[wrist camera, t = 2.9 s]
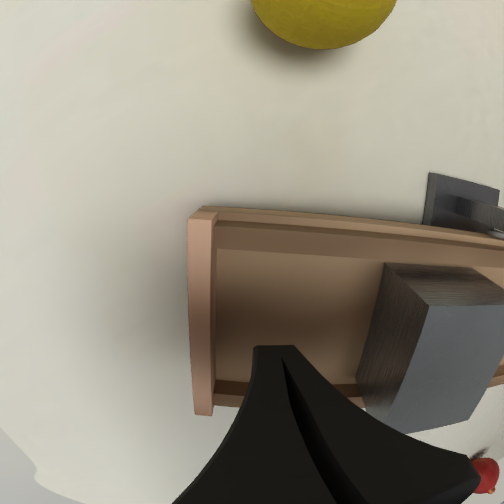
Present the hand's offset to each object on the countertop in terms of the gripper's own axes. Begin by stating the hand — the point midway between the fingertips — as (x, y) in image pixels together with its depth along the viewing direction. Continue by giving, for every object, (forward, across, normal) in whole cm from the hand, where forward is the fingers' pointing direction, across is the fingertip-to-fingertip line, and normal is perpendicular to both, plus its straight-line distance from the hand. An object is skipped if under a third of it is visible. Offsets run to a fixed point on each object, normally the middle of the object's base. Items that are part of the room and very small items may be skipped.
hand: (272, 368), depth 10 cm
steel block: (+2, -7, 0) cm, 8 cm away
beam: (+4, -10, 0) cm, 11 cm away
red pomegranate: (+7, -35, +30) cm, 47 cm away
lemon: (+7, -1, -14) cm, 16 cm away
